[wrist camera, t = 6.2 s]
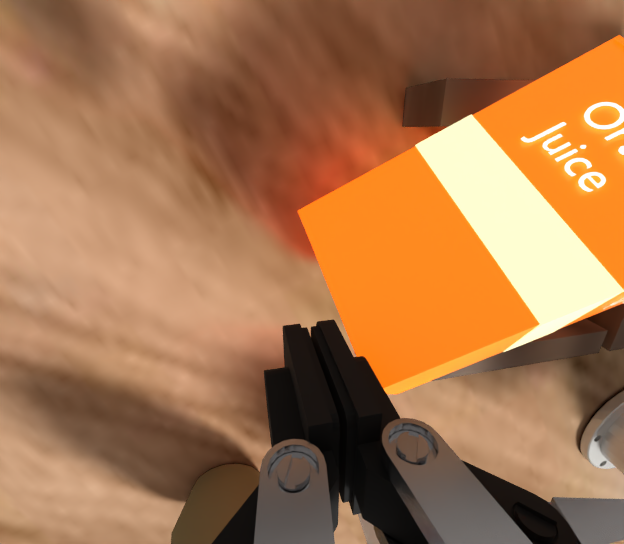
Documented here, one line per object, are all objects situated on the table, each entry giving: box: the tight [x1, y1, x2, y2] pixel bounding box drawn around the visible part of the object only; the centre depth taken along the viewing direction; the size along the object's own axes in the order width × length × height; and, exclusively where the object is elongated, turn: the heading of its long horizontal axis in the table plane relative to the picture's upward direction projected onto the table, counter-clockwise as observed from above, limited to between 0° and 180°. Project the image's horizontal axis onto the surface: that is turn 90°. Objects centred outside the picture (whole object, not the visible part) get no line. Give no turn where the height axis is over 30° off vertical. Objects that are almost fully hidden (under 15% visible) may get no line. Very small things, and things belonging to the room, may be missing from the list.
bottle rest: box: [403, 79, 624, 381], centre depth 22 cm, size 19×18×4 cm
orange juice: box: [298, 35, 624, 394], centre depth 15 cm, size 8×9×20 cm
